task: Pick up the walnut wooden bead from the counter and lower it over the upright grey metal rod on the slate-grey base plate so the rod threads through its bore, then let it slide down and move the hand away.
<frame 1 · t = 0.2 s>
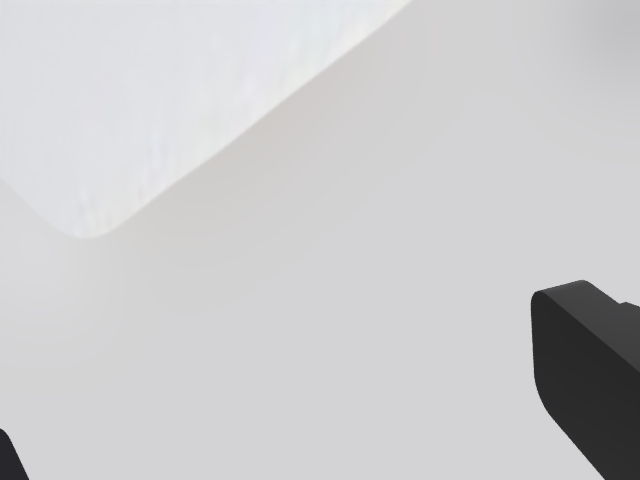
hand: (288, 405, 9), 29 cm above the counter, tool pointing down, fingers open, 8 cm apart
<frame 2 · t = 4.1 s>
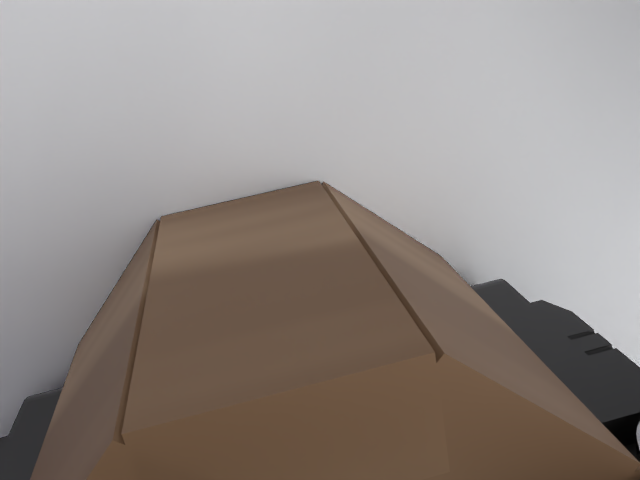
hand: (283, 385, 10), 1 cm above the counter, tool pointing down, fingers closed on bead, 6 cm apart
bead: (280, 365, 10), on the counter, touching gripper
when the fingers open (6 cm above the counter, at t = 10.9 s): bead drops 3 cm, resting on rod stand.
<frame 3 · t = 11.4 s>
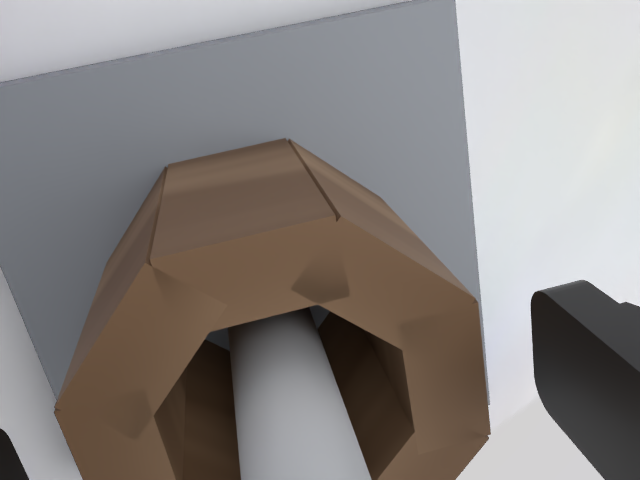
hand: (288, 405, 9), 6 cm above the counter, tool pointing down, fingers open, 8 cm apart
rod stand: (254, 254, 15), on the counter
bead: (259, 281, 14), point 1 cm above the counter, touching rod stand
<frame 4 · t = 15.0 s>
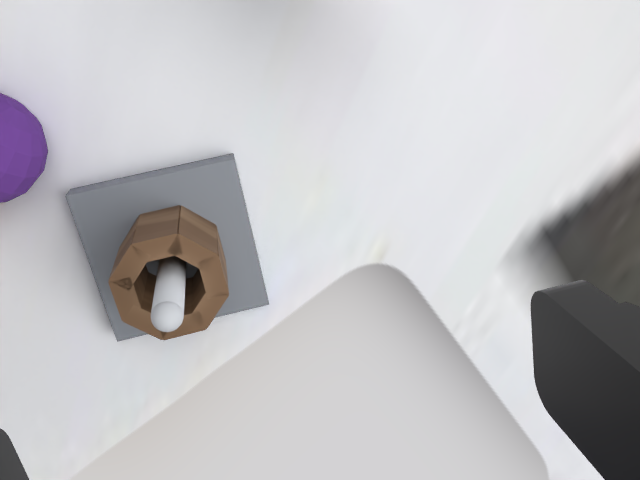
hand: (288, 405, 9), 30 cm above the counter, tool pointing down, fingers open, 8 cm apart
rod stand: (174, 244, 39), on the counter
bead: (173, 254, 38), point 1 cm above the counter, touching rod stand
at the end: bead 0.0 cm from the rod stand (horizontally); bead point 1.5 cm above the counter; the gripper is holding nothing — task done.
